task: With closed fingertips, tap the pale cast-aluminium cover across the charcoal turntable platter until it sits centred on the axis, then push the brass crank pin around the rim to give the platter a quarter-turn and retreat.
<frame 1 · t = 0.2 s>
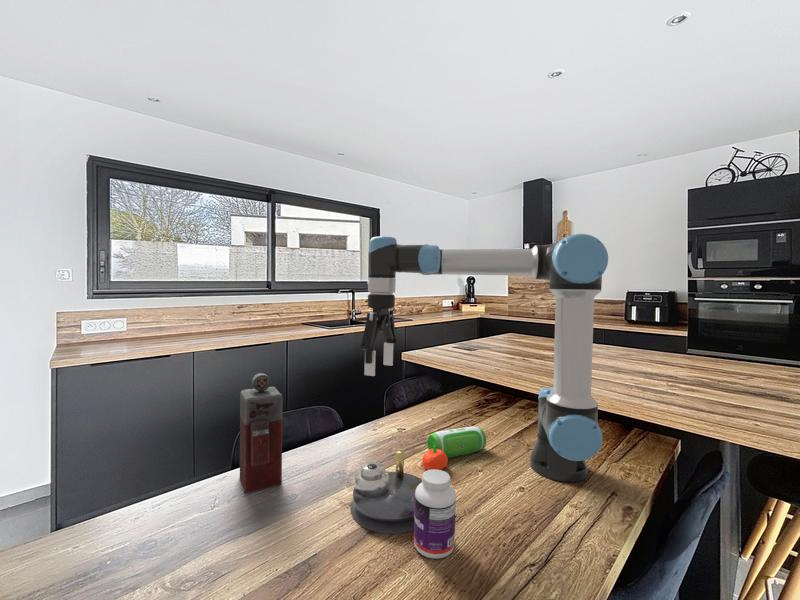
hand: (379, 370, 105), 28 cm above the table, fingers open, 13 cm apart
pill bottle: (433, 548, 75), on the table
turntable base: (391, 507, 88), on the table
cover: (371, 487, 89), point 4 cm above the table, touching turntable
pumpkin: (434, 469, 107), on the table
speaker: (456, 454, 117), on the table
vintage gas pump: (261, 483, 97), on the table
turntable: (393, 482, 87), point 6 cm above the table, hinge at 0.0°, touching cover
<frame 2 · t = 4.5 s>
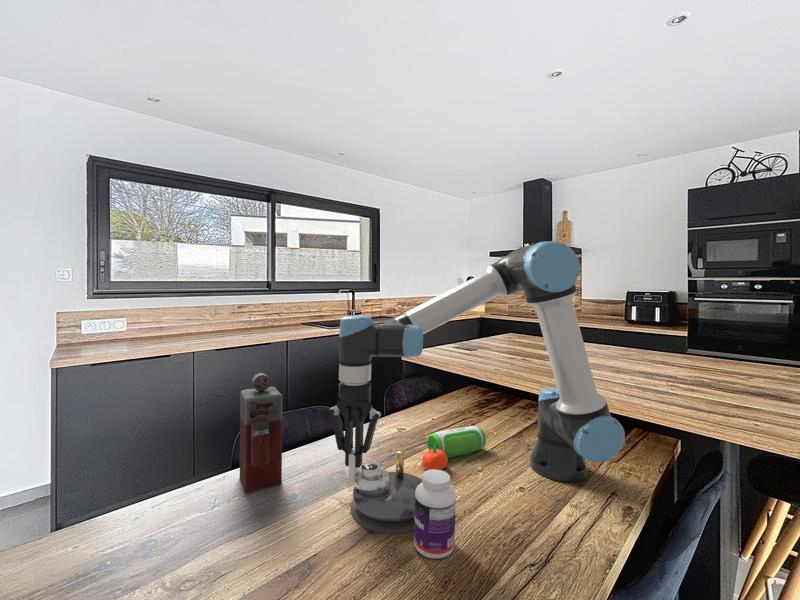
hand: (353, 479, 90), 5 cm above the table, fingers closed
cover: (372, 487, 89), point 4 cm above the table, touching gripper, turntable
everything else where it was.
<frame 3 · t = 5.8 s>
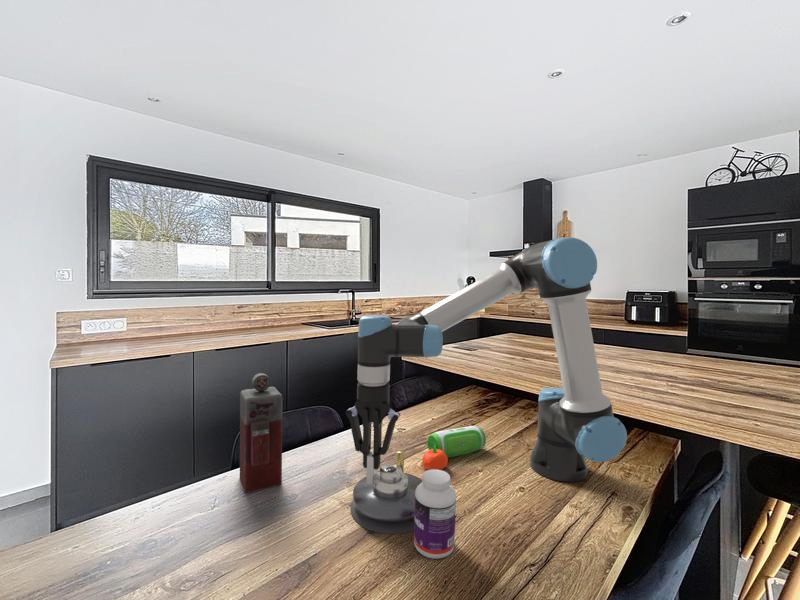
hand: (371, 481, 89), 5 cm above the table, fingers closed
cover: (390, 490, 88), point 4 cm above the table, touching gripper, turntable
everything else where it was.
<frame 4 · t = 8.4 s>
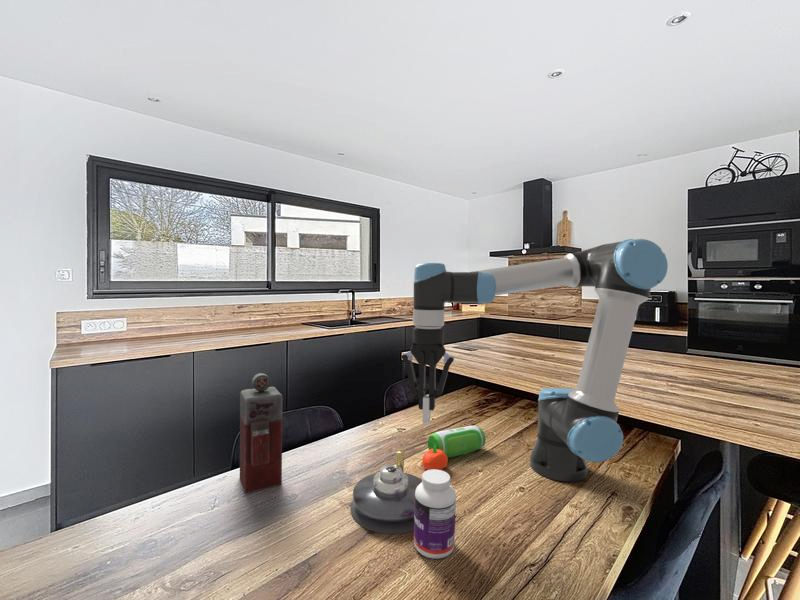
hand: (426, 422, 93), 18 cm above the table, fingers closed
cover: (390, 490, 88), point 4 cm above the table, touching turntable
everything else where it was.
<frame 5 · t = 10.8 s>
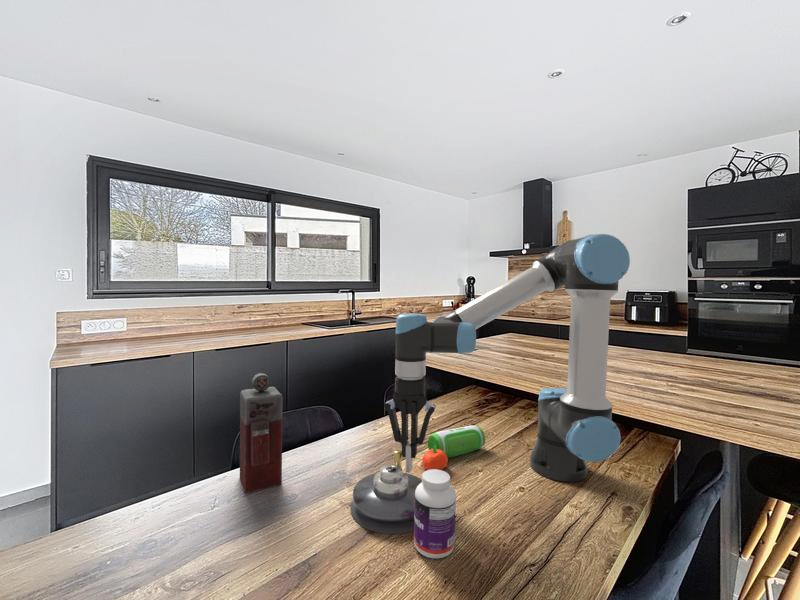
hand: (408, 469, 94), 6 cm above the table, fingers closed
turntable: (393, 482, 88), point 6 cm above the table, hinge at 5.0°, touching cover, gripper
everything else where it was.
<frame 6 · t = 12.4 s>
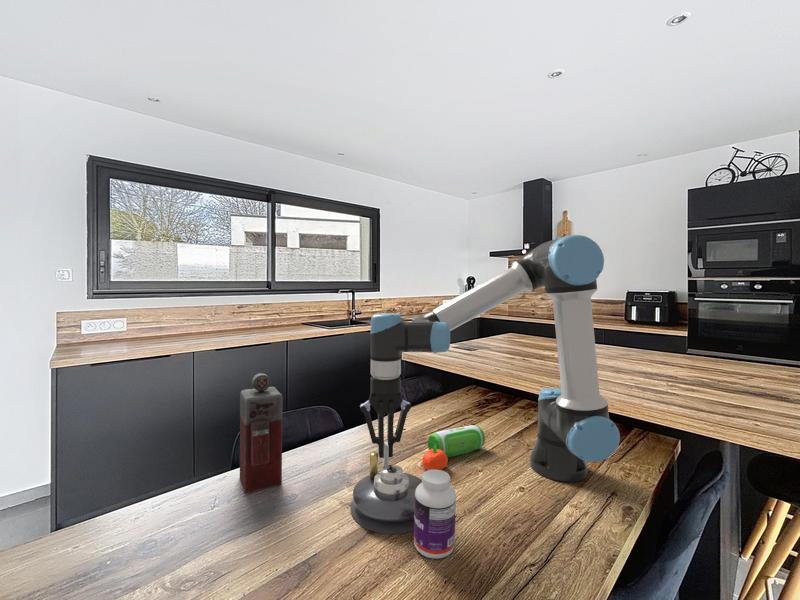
hand: (385, 469, 94), 6 cm above the table, fingers closed
turntable: (392, 482, 88), point 6 cm above the table, hinge at 52.8°, touching cover, gripper
everything else where it was.
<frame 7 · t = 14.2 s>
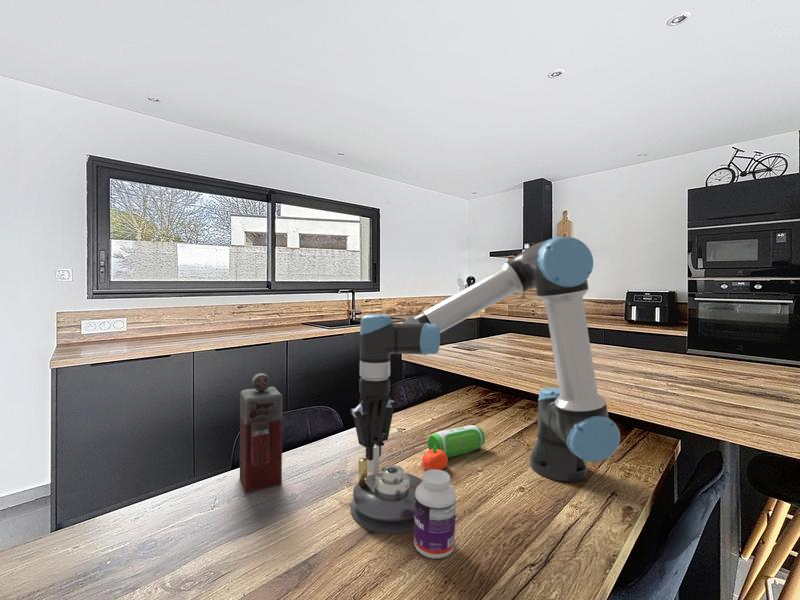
hand: (373, 470, 94), 5 cm above the table, fingers closed
turntable: (392, 481, 88), point 6 cm above the table, hinge at 84.2°, touching cover
everything else where it was.
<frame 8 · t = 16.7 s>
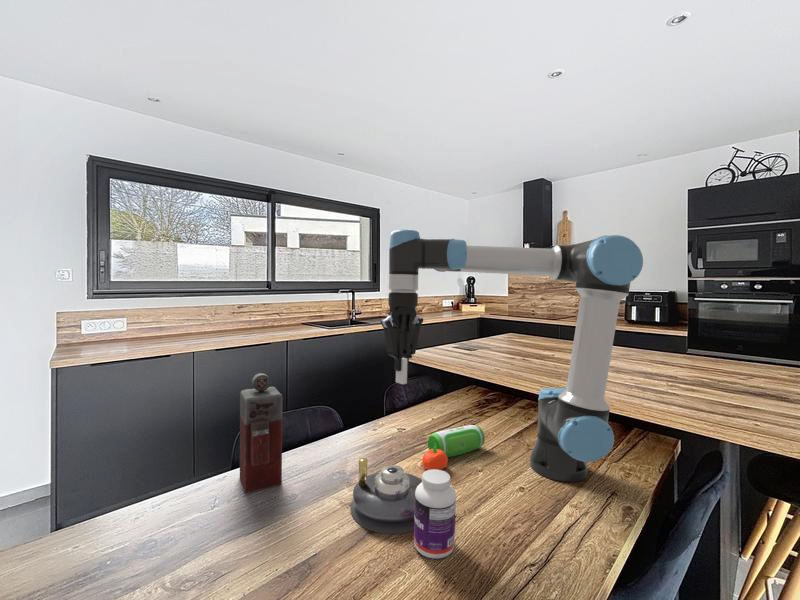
hand: (401, 382, 98), 26 cm above the table, fingers closed
nothing on the table moved.
at the end: cover 0.3 cm from the turntable (horizontally); turntable at +84° (first picture: +0°); cover tilted 0° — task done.
